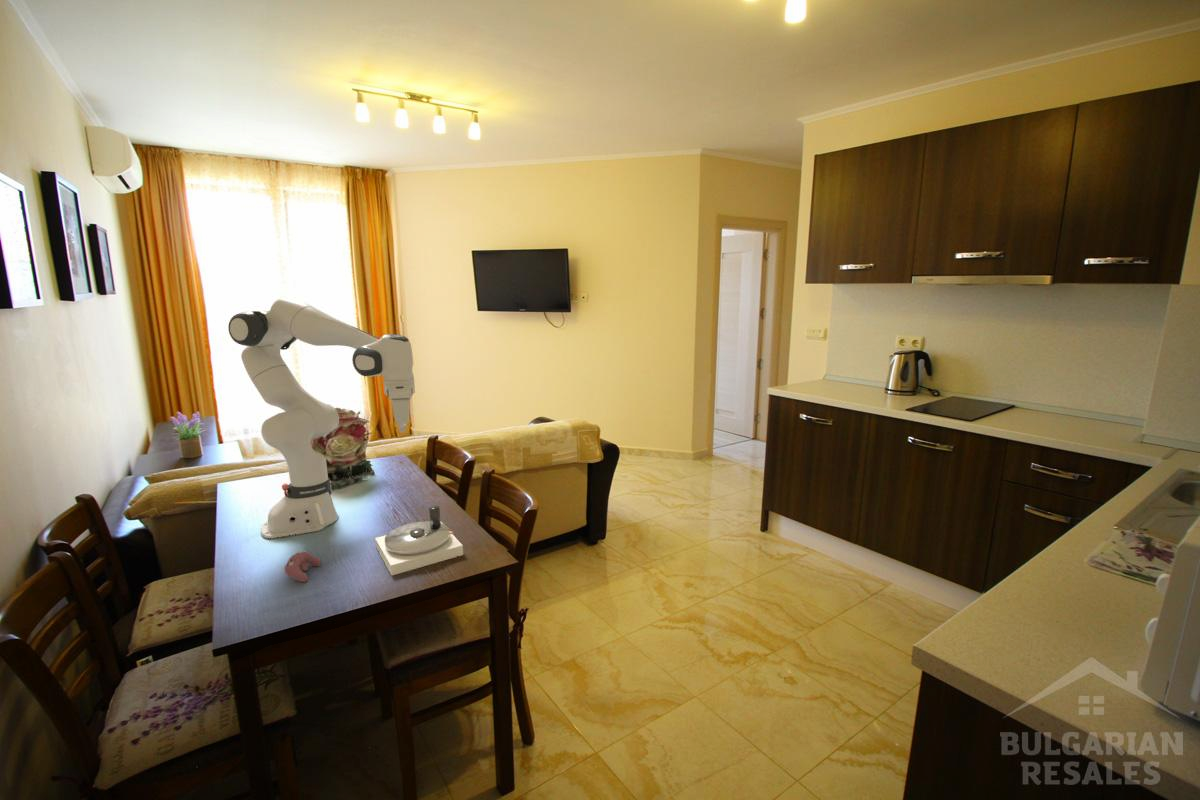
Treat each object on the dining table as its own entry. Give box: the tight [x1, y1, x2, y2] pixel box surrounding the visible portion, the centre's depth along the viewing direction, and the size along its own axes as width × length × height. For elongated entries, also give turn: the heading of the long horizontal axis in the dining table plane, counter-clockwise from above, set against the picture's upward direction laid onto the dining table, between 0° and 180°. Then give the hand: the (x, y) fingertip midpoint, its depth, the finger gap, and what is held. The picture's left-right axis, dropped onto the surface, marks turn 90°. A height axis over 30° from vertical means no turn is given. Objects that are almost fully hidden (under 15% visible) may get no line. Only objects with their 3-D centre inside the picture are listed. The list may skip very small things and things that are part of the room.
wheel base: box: [374, 521, 464, 576], centre depth 157 cm, size 20×20×3 cm
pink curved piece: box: [284, 550, 322, 583], centre depth 145 cm, size 10×5×7 cm, turn 6°
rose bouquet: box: [310, 407, 376, 491], centre depth 217 cm, size 26×29×30 cm
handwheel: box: [385, 505, 450, 555], centre depth 156 cm, size 18×18×8 cm
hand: (402, 431), depth 165 cm, fingers closed
